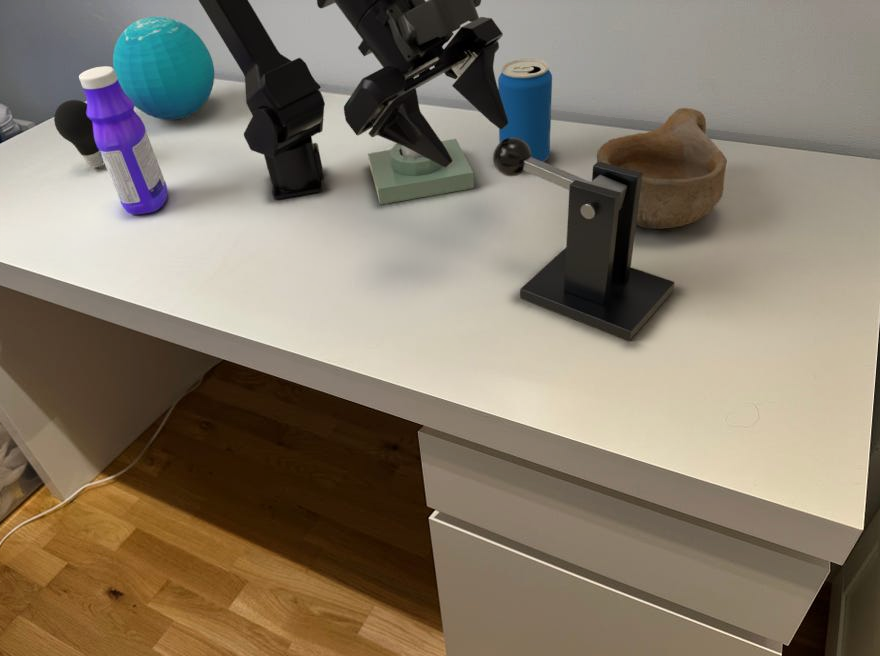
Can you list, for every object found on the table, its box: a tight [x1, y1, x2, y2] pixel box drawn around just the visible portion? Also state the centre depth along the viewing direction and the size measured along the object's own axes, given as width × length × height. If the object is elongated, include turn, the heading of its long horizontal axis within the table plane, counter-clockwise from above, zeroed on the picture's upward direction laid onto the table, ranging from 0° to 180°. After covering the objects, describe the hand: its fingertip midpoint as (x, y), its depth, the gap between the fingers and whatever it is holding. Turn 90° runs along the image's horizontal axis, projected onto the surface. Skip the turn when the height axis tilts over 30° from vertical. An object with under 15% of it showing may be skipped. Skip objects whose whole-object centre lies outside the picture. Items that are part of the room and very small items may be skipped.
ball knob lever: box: [492, 137, 627, 210], centre depth 65 cm, size 13×4×4 cm, turn 50°
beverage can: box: [497, 58, 553, 162], centre depth 88 cm, size 6×6×12 cm
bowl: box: [596, 107, 728, 229], centre depth 78 cm, size 18×14×10 cm
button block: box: [367, 138, 475, 206], centre depth 90 cm, size 12×10×4 cm
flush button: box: [401, 145, 424, 158], centre depth 88 cm, size 4×4×2 cm
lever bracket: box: [519, 161, 675, 342], centre depth 66 cm, size 12×9×13 cm
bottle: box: [78, 65, 168, 215], centre depth 88 cm, size 7×6×17 cm
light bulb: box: [53, 99, 104, 170], centre depth 100 cm, size 6×6×10 cm
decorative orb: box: [112, 15, 215, 121], centre depth 110 cm, size 15×15×15 cm
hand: (478, 144), depth 69 cm, fingers open, 9 cm apart
